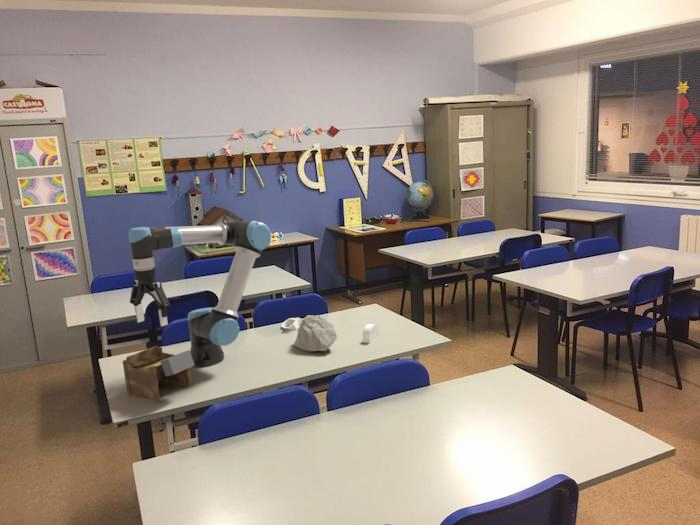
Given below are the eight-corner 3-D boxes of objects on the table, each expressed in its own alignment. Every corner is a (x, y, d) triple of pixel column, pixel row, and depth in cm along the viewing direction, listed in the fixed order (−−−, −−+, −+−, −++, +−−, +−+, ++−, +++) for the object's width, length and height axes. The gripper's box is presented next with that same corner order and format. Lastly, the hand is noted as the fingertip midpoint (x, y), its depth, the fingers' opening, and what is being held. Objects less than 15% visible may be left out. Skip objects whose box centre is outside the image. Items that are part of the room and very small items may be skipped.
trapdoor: (165, 372, 229) (160, 358, 229) (197, 363, 217) (192, 348, 217) (138, 384, 218) (133, 369, 218) (170, 375, 206) (165, 360, 206)
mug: (296, 344, 285) (288, 329, 281) (286, 341, 291) (278, 326, 287) (312, 329, 291) (304, 314, 287) (302, 327, 298) (294, 312, 294)
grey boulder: (343, 349, 256) (340, 317, 253) (324, 359, 246) (321, 325, 243) (305, 342, 270) (302, 311, 267) (286, 350, 259) (283, 318, 256)
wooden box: (163, 379, 234) (159, 344, 231) (192, 386, 224) (188, 350, 222) (127, 395, 220) (122, 358, 217) (156, 403, 210) (151, 365, 208)
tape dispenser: (360, 341, 273) (358, 320, 271) (393, 346, 264) (392, 324, 262) (349, 348, 265) (348, 326, 263) (384, 353, 256) (383, 330, 254)
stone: (136, 370, 212) (134, 364, 212) (131, 370, 216) (129, 364, 216) (168, 359, 221) (167, 353, 220) (163, 359, 224) (162, 353, 224)
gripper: (115, 269, 217) (123, 322, 221) (158, 272, 203) (166, 329, 208) (131, 265, 223) (139, 317, 227) (175, 268, 210) (182, 323, 214)
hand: (152, 323), depth 217 cm, fingers open, 13 cm apart
